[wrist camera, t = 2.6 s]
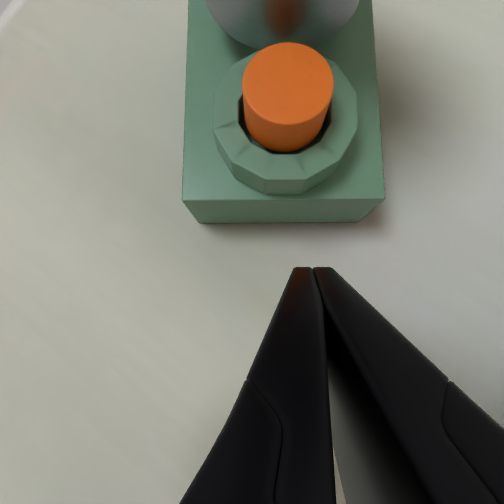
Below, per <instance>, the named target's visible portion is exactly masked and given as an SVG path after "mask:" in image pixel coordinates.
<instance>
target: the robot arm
mask: <svg viewBox="0 0 504 504" xmlns="http://www.w3.org/2000/svg"><path fill="white" fill-rule="evenodd" d="M332 442H333V445H332ZM333 447H334V451H335V456H336V460H337V464H338V469H339V473H340V478H341V482H342V487H343V491H344V496H345V500H346V504H504V429H503V428H502V427H501V426H500V425H499V424H497V423H496V422H495V421H494V420H493V419H492V418H491V417H490V416H489V415H488V414H486V413H485V412H484V411H483V410H482V409H481V408H480V407H479V406H478V405H477V404H475V403H474V402H473V401H472V400H471V399H470V398H469V397H468V396H467V395H466V394H465V393H464V392H463V391H462V390H461V389H459V388H458V387H457V386H456V385H455V384H454V383H453V382H451V381H449V382H448V378H447V376H445V375H444V374H443V373H442V372H441V371H440V370H439V369H438V368H437V367H436V366H435V365H434V364H433V363H432V362H431V361H430V360H429V359H428V358H426V357H425V356H424V355H423V354H422V353H421V352H420V351H419V350H418V349H417V348H416V347H415V346H414V345H413V344H412V343H411V342H410V341H409V340H407V339H406V338H405V337H404V336H403V335H402V334H401V333H400V332H399V331H398V330H397V329H396V328H395V327H394V326H393V325H392V324H391V323H390V322H388V321H387V320H386V319H385V318H384V317H383V316H382V315H381V314H380V313H379V312H378V311H377V310H376V309H375V308H374V307H373V306H372V305H371V304H369V303H368V302H367V301H366V300H365V299H364V298H363V297H362V296H361V295H360V294H359V293H358V292H357V291H356V290H355V289H354V288H353V287H352V286H351V285H349V284H348V283H347V282H346V281H345V280H344V279H343V278H342V277H341V276H340V275H339V274H338V273H337V272H336V271H335V270H334V269H332V268H331V267H315V268H313V269H312V268H310V267H295V268H294V269H293V271H292V273H291V275H290V278H289V280H288V282H287V285H286V287H285V289H284V292H283V294H282V296H281V299H280V301H279V303H278V306H277V308H276V310H275V313H274V315H273V317H272V320H271V322H270V324H269V327H268V329H267V331H266V334H265V336H264V338H263V341H262V343H261V345H260V348H259V350H258V352H257V355H256V357H255V359H254V362H253V364H252V366H251V368H250V371H249V373H248V375H247V380H246V381H245V382H244V384H243V386H242V389H241V391H240V393H239V396H238V398H237V400H236V402H235V404H234V406H233V409H232V411H231V413H230V415H229V417H228V419H227V421H226V423H225V425H224V427H223V429H222V431H221V433H220V435H219V436H218V438H217V440H216V442H215V444H214V445H213V447H212V449H211V451H210V453H209V454H208V456H207V458H206V460H205V461H204V463H203V465H202V466H201V468H200V470H199V471H198V473H197V475H196V476H195V478H194V480H193V481H192V483H191V485H190V487H189V488H188V490H187V492H186V493H185V495H184V497H183V498H182V500H181V502H180V503H179V504H336V491H335V476H334V460H333Z"/></svg>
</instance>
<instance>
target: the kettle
mask: <svg viewBox="0 0 504 504" xmlns="http://www.w3.org/2000/svg"><path fill="white" fill-rule="evenodd" d="M359 1H360V0H205V2H206V4H207V7H208V10H209V12H210V13H211V15H212V17H213V18H214V20H215V21H216V22H217V24H218V25H219V26H220V27H221V28H222V29H223V30H224V31H225V32H226V33H227V34H228V35H230V36H231V37H232V38H234V39H235V40H237V41H239V42H241V43H242V44H245V45H247V46H250V47H252V48H256V49H259V50H262V49H264V48H266V47H268V46H270V45H274V44H277V43H284V42H293V43H299V44H303V45H306V46H308V47H310V48H311V47H314V46H316V45H318V44H321V43H323V42H325V41H326V40H328V39H330V38H331V37H333V36H334V35H335V34H336V33H338V32H339V31H340V30H341V29H342V28H343V27H344V26H345V25H346V24H347V23H348V22H349V20H350V19H351V17H352V16H353V14H354V12H355V10H356V8H357V6H358V4H359Z"/></svg>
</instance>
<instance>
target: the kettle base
mask: <svg viewBox="0 0 504 504" xmlns="http://www.w3.org/2000/svg"><path fill="white" fill-rule="evenodd" d="M311 48H312V49H314V50H315V51H317V52H318V53H319V54H321V55H322V56H323V57H324V59H325V60H326V61H327V63H328V64H329V66H330V68H331V71H332V74H333V79H334V90H333V95H332V98H331V101H330V104H329V106H328V109H327V112H326V115H325V118H324V121H323V124H322V127H321V130H320V132H319V133H318V135H317V136H316V137H315V139H314V140H313V141H312V142H310V143H309V144H308V145H306V146H305V147H303V148H301V149H298V150H295V151H290V152H279V151H273V150H270V149H268V148H265V147H264V146H262V145H260V144H259V143H258V142H257V141H256V140H255V139H254V138H253V137H252V136H251V134H250V133H249V131H248V129H247V126H246V123H245V114H244V103H243V91H242V79H243V74H244V71H245V69H246V67H247V65H248V63H249V62H250V60H251V59H252V58H253V57H254V56H255V55H256V54H257V53H258V52H259V51H261V50H259V49H256V48H252V47H250V46H247V45H245V44H242V43H241V42H239V41H237V40H235V39H234V38H232V37H231V36H230V35H228V34H227V33H226V32H225V31H224V30H223V29H222V28H221V27H220V26H219V25H218V24H217V22H216V21H215V20H214V18H213V17H212V15H211V13H210V12H209V10H208V7H207V4H206V2H205V0H189V3H188V32H187V62H186V91H185V121H184V150H183V180H182V201H183V203H184V204H185V205H186V207H187V208H188V209H189V211H190V212H191V213H192V215H193V216H194V217H195V219H196V220H197V221H198V223H267V222H359V221H360V220H361V219H362V218H363V217H365V216H366V215H367V214H368V213H369V212H370V211H372V210H373V209H374V208H375V207H376V206H377V205H378V204H380V203H381V202H382V201H383V200H384V199H385V188H384V173H383V158H382V144H381V129H380V115H379V100H378V86H377V71H376V56H375V42H374V27H373V13H372V0H360V1H359V4H358V6H357V8H356V10H355V12H354V14H353V16H352V17H351V19H350V20H349V22H348V23H347V24H346V25H345V26H344V27H343V28H342V29H341V30H340V31H339V32H338V33H336V34H335V35H334V36H333V37H331V38H330V39H328V40H326V41H325V42H323V43H321V44H318V45H316V46H314V47H311Z"/></svg>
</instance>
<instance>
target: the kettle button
mask: <svg viewBox="0 0 504 504" xmlns="http://www.w3.org/2000/svg"><path fill="white" fill-rule="evenodd" d="M333 90H334V79H333V74H332V71H331V68H330V66H329V64H328V63H327V61H326V60H325V59H324V57H323V56H322V55H321V54H319V53H318V52H317V51H315V50H314V49H312V48H310V47H308V46H306V45H303V44H299V43H293V42H284V43H277V44H274V45H270V46H268V47H266V48H264V49H262V50H261V51H259V52H258V53H257V54H256V55H255V56H254V57H253V58H252V59H251V60H250V62H249V63H248V65H247V67H246V69H245V71H244V74H243V79H242V91H243V103H244V114H245V123H246V126H247V129H248V131H249V133H250V134H251V136H252V137H253V138H254V139H255V140H256V141H257V142H258V143H259V144H260V145H262V146H264V147H265V148H268V149H270V150H273V151H279V152H290V151H295V150H298V149H301V148H303V147H305V146H306V145H308V144H309V143H310V142H312V141H313V140H314V139H315V137H316V136H317V135H318V133H319V132H320V130H321V127H322V124H323V121H324V118H325V115H326V112H327V109H328V106H329V104H330V101H331V98H332V95H333Z"/></svg>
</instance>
